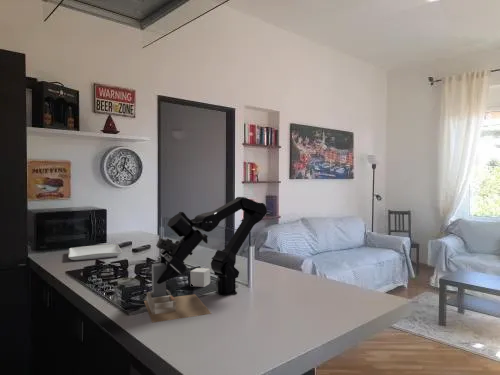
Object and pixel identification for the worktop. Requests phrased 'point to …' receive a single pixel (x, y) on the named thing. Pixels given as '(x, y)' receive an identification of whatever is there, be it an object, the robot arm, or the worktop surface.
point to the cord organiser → (174, 307)
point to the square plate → (94, 252)
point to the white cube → (200, 277)
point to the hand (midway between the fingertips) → (155, 279)
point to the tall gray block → (157, 270)
